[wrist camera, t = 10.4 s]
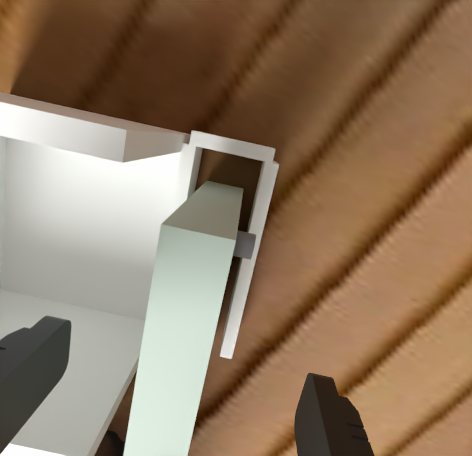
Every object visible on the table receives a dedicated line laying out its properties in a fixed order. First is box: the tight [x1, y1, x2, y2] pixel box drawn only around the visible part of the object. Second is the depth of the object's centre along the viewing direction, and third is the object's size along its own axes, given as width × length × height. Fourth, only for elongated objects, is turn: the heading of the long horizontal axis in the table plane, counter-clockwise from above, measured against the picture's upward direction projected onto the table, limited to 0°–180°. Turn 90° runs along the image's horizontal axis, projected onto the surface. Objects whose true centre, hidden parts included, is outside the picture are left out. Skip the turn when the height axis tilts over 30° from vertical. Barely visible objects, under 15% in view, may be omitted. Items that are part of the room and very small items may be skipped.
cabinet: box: [0, 92, 279, 456], centre depth 18 cm, size 18×16×13 cm
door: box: [123, 181, 256, 456], centre depth 18 cm, size 4×10×12 cm, turn 168°
